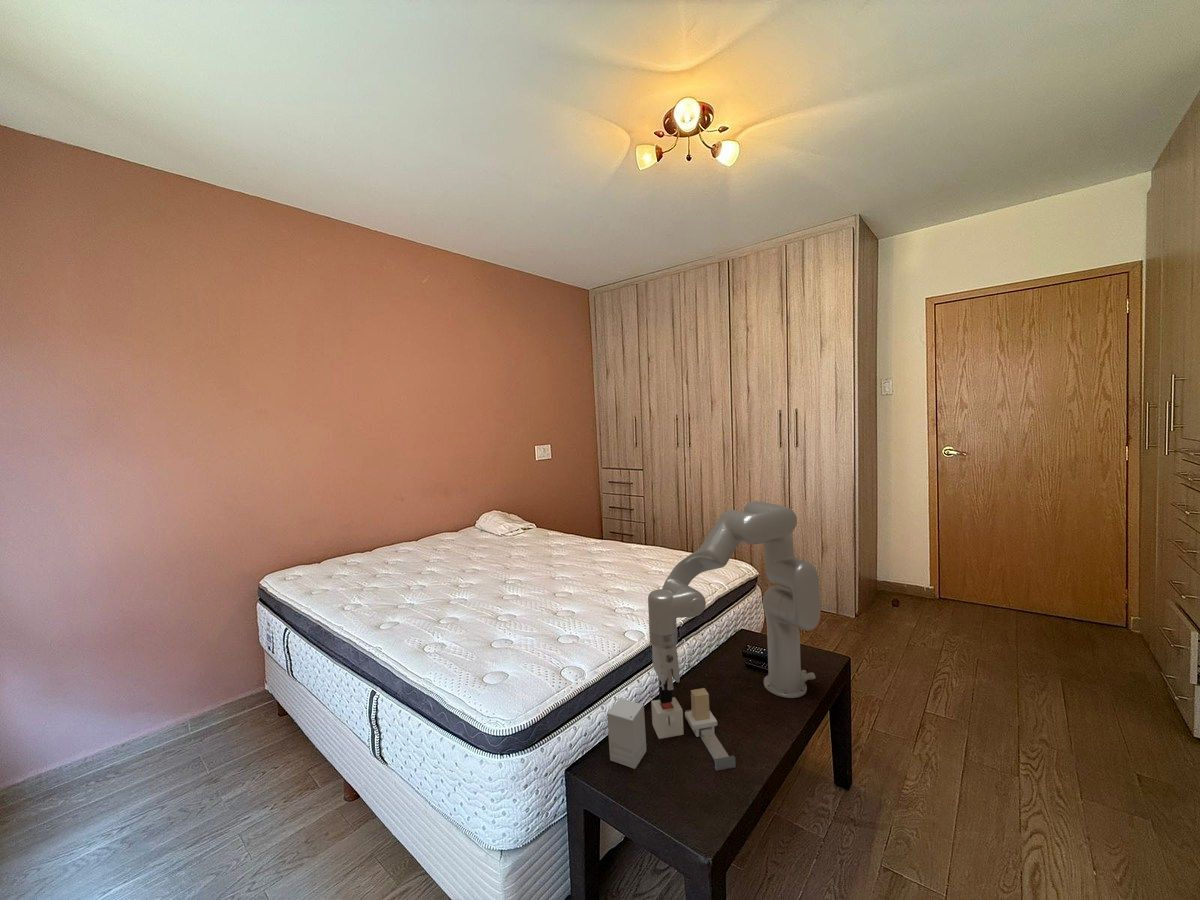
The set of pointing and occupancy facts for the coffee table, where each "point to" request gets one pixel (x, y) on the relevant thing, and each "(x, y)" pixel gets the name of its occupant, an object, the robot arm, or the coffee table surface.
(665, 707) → the button
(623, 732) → the supplement box
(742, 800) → the coffee table surface
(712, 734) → the rail
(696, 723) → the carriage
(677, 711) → the white cube box
